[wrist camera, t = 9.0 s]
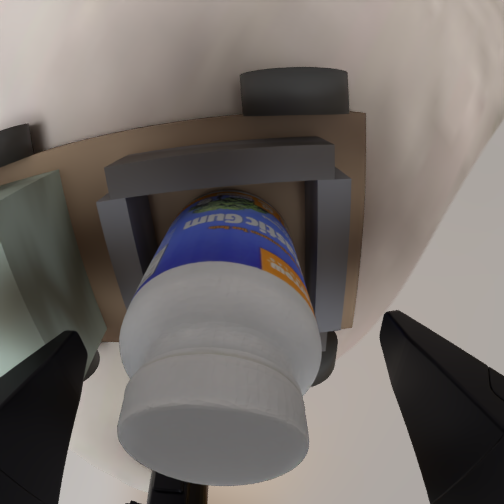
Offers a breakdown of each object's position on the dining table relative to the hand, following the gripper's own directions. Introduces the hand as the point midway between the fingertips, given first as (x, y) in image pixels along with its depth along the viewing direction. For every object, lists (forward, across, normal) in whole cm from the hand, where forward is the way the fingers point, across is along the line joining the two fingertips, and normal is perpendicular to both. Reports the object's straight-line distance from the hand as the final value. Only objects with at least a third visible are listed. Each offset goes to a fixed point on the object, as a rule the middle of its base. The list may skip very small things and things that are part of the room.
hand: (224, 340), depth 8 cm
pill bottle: (+6, 0, 0) cm, 7 cm away
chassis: (+8, +4, 0) cm, 9 cm away
